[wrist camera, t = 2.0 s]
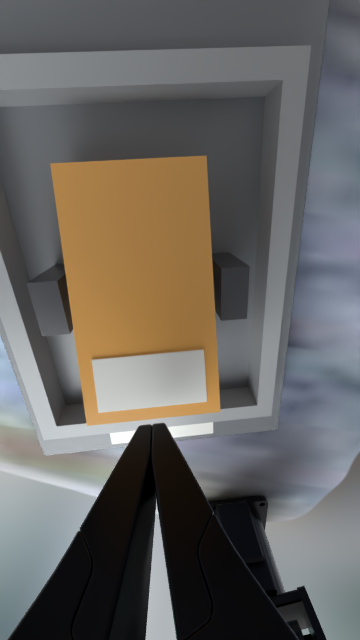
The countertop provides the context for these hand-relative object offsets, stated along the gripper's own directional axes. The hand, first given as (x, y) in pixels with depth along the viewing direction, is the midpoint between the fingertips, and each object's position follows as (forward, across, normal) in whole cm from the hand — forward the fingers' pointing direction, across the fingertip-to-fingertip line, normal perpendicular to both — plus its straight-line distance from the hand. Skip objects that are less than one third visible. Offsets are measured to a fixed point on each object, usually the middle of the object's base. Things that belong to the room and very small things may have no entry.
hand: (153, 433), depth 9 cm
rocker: (+3, 0, -4) cm, 5 cm away
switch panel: (+8, 0, -4) cm, 9 cm away
